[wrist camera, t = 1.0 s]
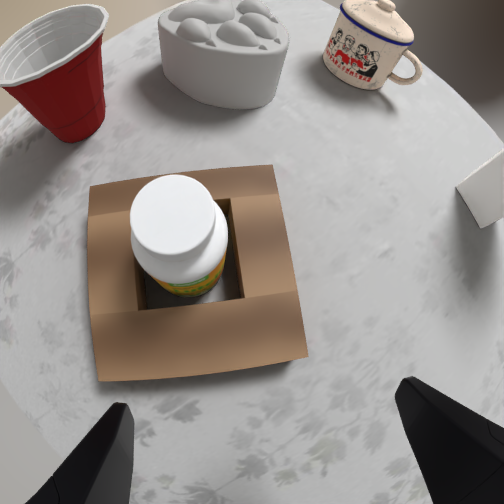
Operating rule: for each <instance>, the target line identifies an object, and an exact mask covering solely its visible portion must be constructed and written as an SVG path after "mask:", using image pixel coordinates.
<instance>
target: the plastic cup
mask: <svg viewBox="0 0 504 504" xmlns="http://www.w3.org/2000/svg"><path fill="white" fill-rule="evenodd" d="M108 17H109V14H108V13H107V12H106V10H105V9H104V8H103V7H100V6H96V5H92V4H84V5H72V6H68V7H65V8H62V9H59V10H55V11H52V12H50V13H47V14H45V15H43V16H41V17H39V18H37V19H36V20H33V21H32V22H30V23H28V24H27V25H25V26H24V27H23V28H21V29H20V30H19V31H17V32H16V33H14V34H13V35H12V36H11V37H10V38H9V39H8V40H7V41H6V42H5V43H4V44H3V45H2V46H1V47H0V87H2V88H3V89H5V90H6V91H7V92H8V93H9V94H10V95H12V96H13V97H14V98H16V99H17V100H18V101H19V102H20V103H21V104H22V105H23V106H24V107H25V108H26V109H27V110H28V111H29V112H30V113H31V114H32V115H33V116H34V117H35V118H36V119H37V120H38V121H39V122H40V123H41V124H42V125H43V126H45V127H46V128H48V129H49V130H50V131H51V132H52V133H53V134H54V135H55V136H56V137H57V138H59V139H60V140H62V141H64V142H68V143H74V142H78V141H82V140H84V139H85V138H87V137H89V136H90V135H92V134H93V133H94V132H95V131H96V130H97V129H98V128H99V127H100V125H101V124H102V122H103V120H104V118H105V107H106V106H105V99H104V92H103V89H104V83H103V71H102V57H101V44H102V35H103V32H104V30H105V27H106V24H107V21H108Z"/></svg>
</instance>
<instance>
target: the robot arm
mask: <svg viewBox="0 0 504 504" xmlns="http://www.w3.org/2000/svg"><path fill="white" fill-rule="evenodd" d="M395 401H396V404H397V407H398V410H399V414H400V417H401V420H402V424H403V427H404V430H405V433H406V436H407V438H408V440H409V443H410V445H411V448H412V450H413V452H414V455H415V457H416V460H417V462H418V465H419V467H420V470H421V472H422V475H423V478H424V480H425V483H426V485H427V488H428V491H429V493H430V496H431V499H432V502H433V504H504V428H503V427H501V426H499V425H497V424H495V423H493V422H492V421H490V420H488V419H486V418H484V417H483V416H481V415H479V414H477V413H476V412H474V411H472V410H470V409H469V408H467V407H465V406H463V405H462V404H460V403H458V402H457V401H455V400H453V399H451V398H450V397H448V396H446V395H444V394H443V393H441V392H439V391H438V390H436V389H434V388H433V387H431V386H429V385H427V384H426V383H424V382H422V381H421V380H419V379H417V378H416V377H413V376H410V377H407V378H404V379H402V381H401V383H400V385H399V387H398V389H397V391H396V393H395ZM133 456H134V419H133V416H132V414H131V411H130V409H129V406H128V405H127V404H126V403H118V402H115V403H113V404H112V405H111V407H110V408H109V409H108V410H107V411H106V412H105V414H104V415H103V416H102V417H101V418H100V419H99V421H98V422H97V423H96V424H95V425H94V426H93V428H92V429H91V430H90V431H89V432H88V433H87V435H86V436H85V437H84V438H83V439H82V441H81V442H80V443H79V444H78V445H77V446H76V448H75V449H74V450H73V451H72V452H71V453H70V455H69V456H68V457H67V458H66V459H65V460H64V462H63V463H62V464H61V465H60V466H59V468H58V469H57V470H56V471H55V472H54V473H53V476H51V477H50V478H49V479H48V481H47V482H46V483H45V484H44V485H43V486H42V487H41V488H40V489H39V490H38V492H37V493H36V494H35V495H34V496H32V497H31V498H30V499H29V500H28V501H27V502H26V503H25V504H129V497H130V488H131V480H132V473H133Z"/></svg>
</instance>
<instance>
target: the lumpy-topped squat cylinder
mask: <svg viewBox="0 0 504 504" xmlns="http://www.w3.org/2000/svg"><path fill="white" fill-rule="evenodd" d="M158 30H159V40H160V49H161V57H162V66H163V73H164V75H165V76H166V78H167V79H168V80H169V81H170V82H171V83H173V84H174V85H175V86H176V87H177V88H178V89H180V90H181V91H182V92H184V93H185V94H186V95H188V96H189V97H191V98H193V99H194V100H196V101H198V102H201V103H204V104H208V105H212V106H217V107H222V108H227V109H254V108H259V107H262V106H265V105H266V104H268V103H269V102H271V101H272V99H273V98H274V96H275V93H276V89H277V86H278V82H279V78H280V75H281V71H282V67H283V64H284V60H285V57H286V53H287V50H288V46H289V33H288V31H287V29H286V28H285V26H284V25H283V23H282V22H281V21H280V20H279V19H278V18H277V17H276V16H274V15H273V14H271V13H270V10H269V9H268V7H267V6H266V4H265V3H264V2H262V1H260V0H196V1H192V2H189V3H184V4H181V5H179V6H178V7H176V8H173V9H170V10H168V11H166V12H164V13H163V14H161V16H160V17H159V19H158Z"/></svg>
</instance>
